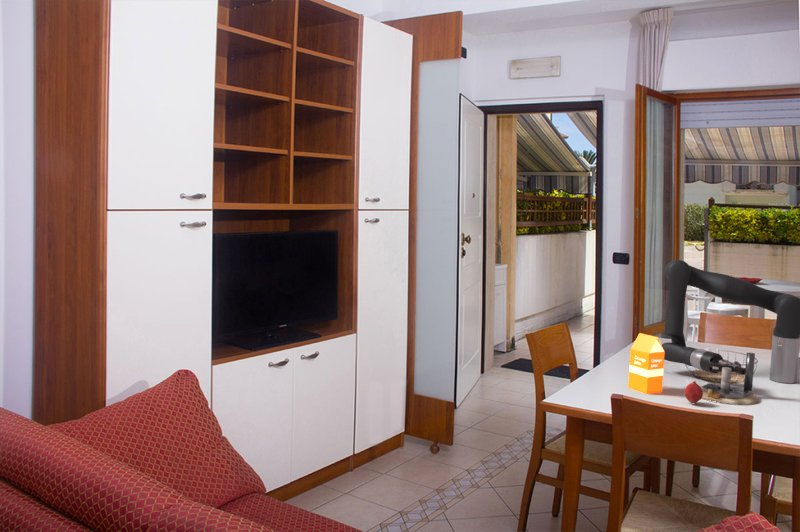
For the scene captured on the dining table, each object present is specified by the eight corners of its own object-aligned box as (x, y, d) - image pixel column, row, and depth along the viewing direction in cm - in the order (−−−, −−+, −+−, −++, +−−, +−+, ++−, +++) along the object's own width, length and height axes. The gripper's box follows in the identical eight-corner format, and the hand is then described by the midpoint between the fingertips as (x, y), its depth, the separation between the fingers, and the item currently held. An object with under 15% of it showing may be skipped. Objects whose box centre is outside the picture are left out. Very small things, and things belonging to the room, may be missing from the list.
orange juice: (646, 394, 251) (650, 338, 249) (627, 387, 259) (631, 333, 257) (662, 391, 255) (666, 336, 253) (643, 385, 263) (647, 331, 261)
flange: (756, 393, 252) (759, 353, 250) (738, 402, 239) (741, 361, 237) (713, 384, 262) (716, 346, 260) (693, 393, 249) (696, 353, 248)
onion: (680, 401, 244) (681, 378, 243) (696, 401, 244) (698, 378, 243) (688, 406, 238) (690, 382, 237) (705, 406, 238) (706, 382, 237)
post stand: (736, 387, 263) (738, 361, 262) (771, 404, 242) (773, 376, 241) (681, 387, 261) (683, 360, 260) (712, 405, 240) (714, 375, 239)
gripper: (694, 352, 264) (733, 363, 249) (719, 349, 270) (760, 360, 254) (692, 372, 265) (732, 384, 250) (718, 369, 271) (758, 380, 255)
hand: (746, 372), depth 252 cm, fingers closed
